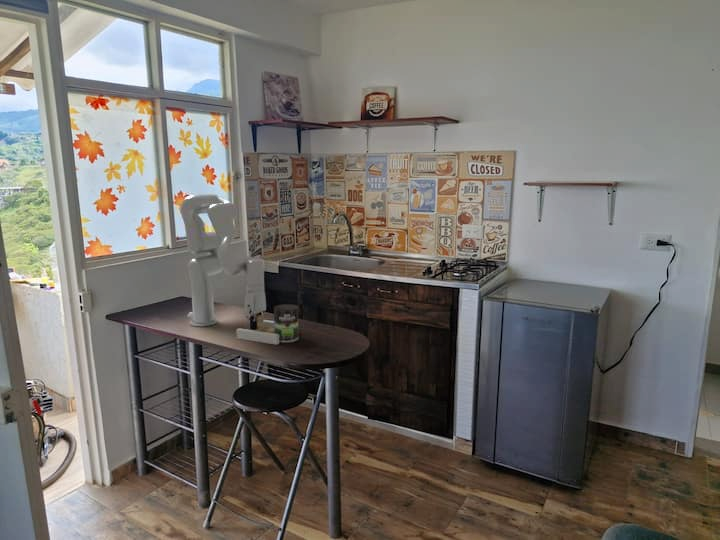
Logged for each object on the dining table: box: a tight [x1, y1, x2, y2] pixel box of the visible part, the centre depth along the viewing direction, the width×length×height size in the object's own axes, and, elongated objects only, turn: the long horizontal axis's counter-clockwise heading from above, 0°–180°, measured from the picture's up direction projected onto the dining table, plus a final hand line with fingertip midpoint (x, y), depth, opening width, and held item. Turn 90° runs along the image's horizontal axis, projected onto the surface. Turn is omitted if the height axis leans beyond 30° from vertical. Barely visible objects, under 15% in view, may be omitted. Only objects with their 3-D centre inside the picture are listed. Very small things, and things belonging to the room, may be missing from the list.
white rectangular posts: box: [235, 319, 280, 346], centre depth 217 cm, size 20×17×4 cm
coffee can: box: [273, 303, 299, 343], centre depth 212 cm, size 10×10×14 cm
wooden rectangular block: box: [250, 314, 275, 333], centre depth 217 cm, size 12×4×8 cm, turn 67°
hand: (256, 327), depth 219 cm, fingers closed on wooden rectangular block, 4 cm apart
